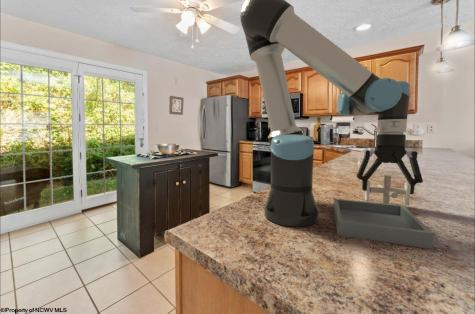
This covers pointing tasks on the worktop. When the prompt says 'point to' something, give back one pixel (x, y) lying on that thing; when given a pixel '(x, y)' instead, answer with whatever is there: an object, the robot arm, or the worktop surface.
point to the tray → (380, 223)
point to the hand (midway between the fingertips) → (385, 201)
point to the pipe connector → (387, 190)
